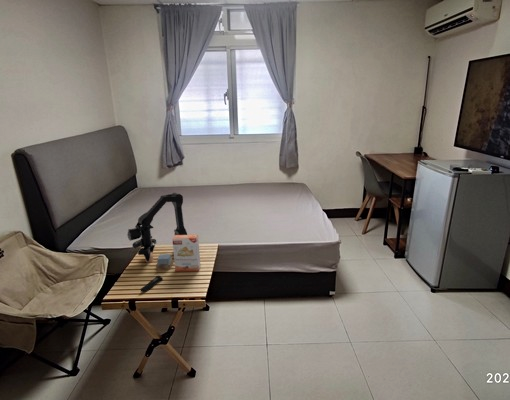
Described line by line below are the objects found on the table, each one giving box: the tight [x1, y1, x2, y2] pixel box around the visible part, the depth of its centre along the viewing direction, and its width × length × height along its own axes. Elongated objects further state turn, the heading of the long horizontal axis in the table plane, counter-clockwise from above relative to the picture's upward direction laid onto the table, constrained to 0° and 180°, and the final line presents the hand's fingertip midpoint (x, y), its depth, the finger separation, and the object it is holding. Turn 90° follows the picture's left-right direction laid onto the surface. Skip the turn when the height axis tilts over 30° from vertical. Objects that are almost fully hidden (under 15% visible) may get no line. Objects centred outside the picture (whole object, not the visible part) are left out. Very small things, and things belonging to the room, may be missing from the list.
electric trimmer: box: [140, 275, 163, 293], centre depth 168 cm, size 4×16×3 cm, turn 159°
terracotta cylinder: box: [144, 251, 154, 263], centre depth 198 cm, size 5×5×5 cm
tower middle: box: [156, 253, 172, 265], centre depth 188 cm, size 6×6×4 cm
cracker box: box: [171, 234, 201, 272], centre depth 183 cm, size 14×6×21 cm, turn 89°
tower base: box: [155, 258, 174, 271], centre depth 189 cm, size 8×8×4 cm
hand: (149, 259), depth 198 cm, fingers closed on terracotta cylinder, 5 cm apart
